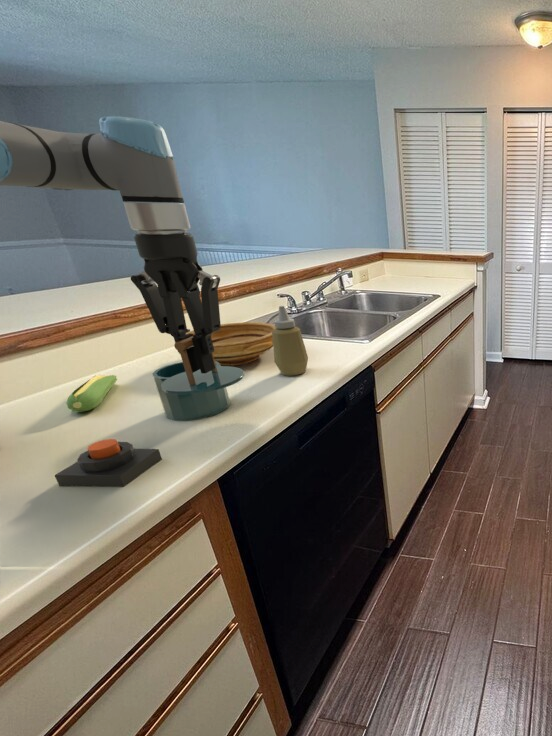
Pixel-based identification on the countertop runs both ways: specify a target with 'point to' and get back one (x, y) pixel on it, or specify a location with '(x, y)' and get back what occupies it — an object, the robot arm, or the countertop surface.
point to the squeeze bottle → (288, 346)
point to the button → (103, 448)
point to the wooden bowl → (241, 342)
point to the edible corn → (90, 393)
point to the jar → (188, 397)
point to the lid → (199, 375)
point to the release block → (109, 468)
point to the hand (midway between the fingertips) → (201, 370)
